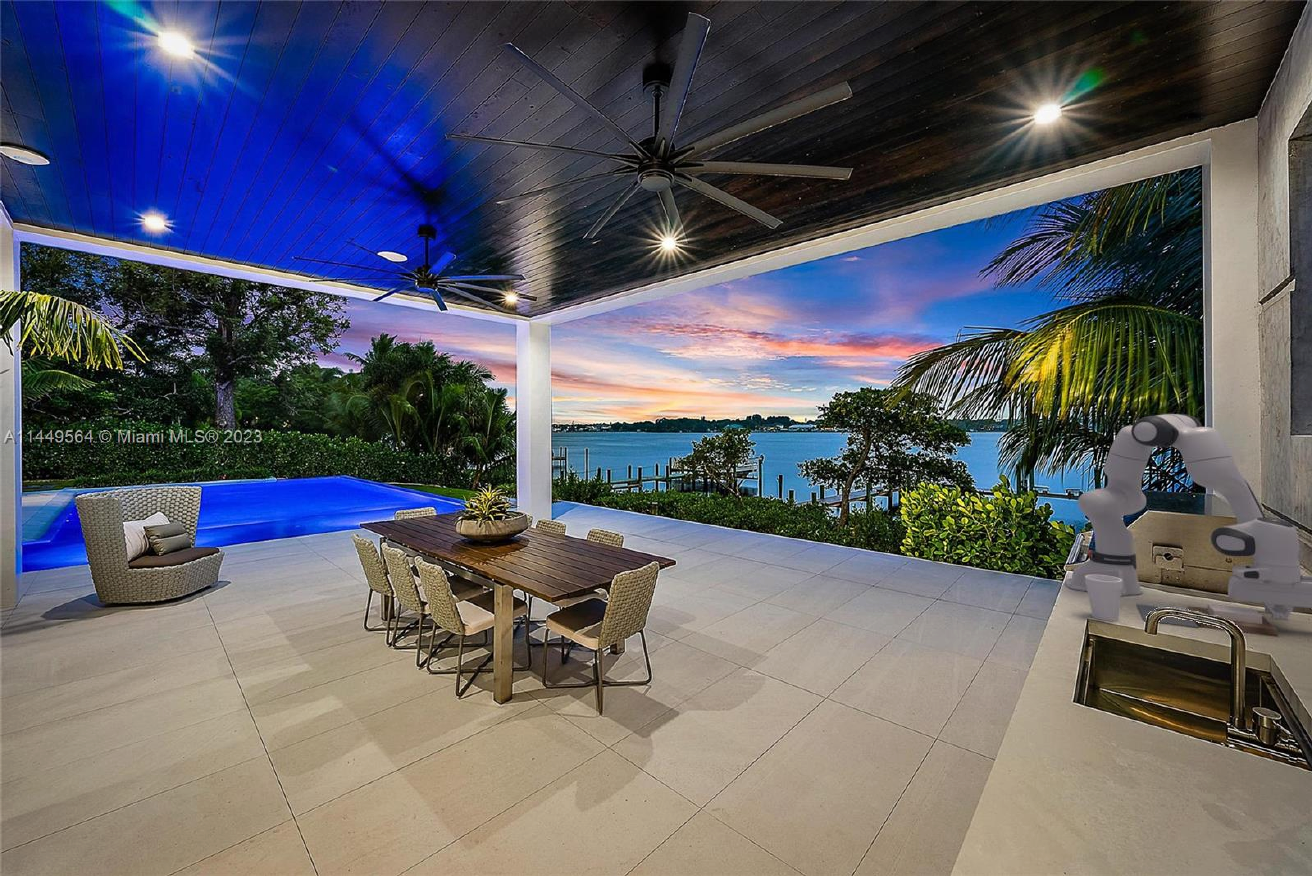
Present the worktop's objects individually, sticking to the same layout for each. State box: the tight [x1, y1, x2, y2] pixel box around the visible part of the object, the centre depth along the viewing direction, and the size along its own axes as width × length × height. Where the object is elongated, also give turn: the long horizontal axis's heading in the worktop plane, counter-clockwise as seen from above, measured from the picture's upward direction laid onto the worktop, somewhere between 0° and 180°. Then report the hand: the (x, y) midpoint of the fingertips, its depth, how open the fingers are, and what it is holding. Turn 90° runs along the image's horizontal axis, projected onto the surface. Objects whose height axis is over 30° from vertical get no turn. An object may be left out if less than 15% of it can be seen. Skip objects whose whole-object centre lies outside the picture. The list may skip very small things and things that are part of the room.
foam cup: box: [1085, 575, 1123, 622], centre depth 171 cm, size 10×9×13 cm
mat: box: [1135, 603, 1200, 629], centre depth 169 cm, size 12×18×1 cm
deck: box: [1187, 605, 1279, 637], centre depth 161 cm, size 16×15×2 cm
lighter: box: [1264, 604, 1286, 615], centre depth 168 cm, size 7×2×8 cm, turn 38°
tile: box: [1207, 603, 1263, 624], centre depth 160 cm, size 10×7×2 cm
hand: (1279, 619), depth 154 cm, fingers closed
